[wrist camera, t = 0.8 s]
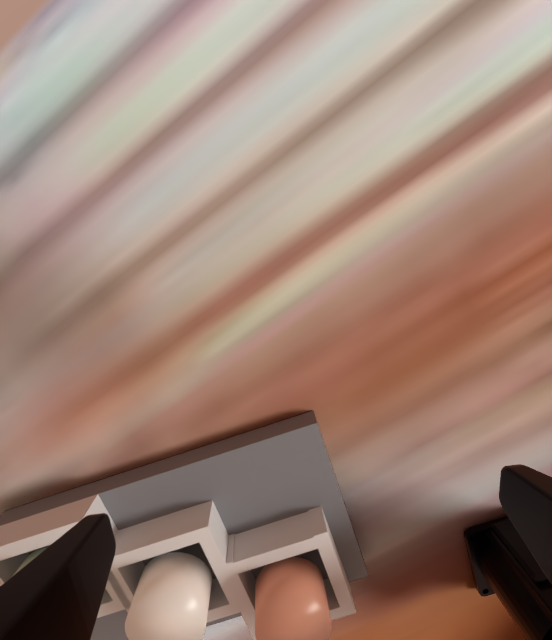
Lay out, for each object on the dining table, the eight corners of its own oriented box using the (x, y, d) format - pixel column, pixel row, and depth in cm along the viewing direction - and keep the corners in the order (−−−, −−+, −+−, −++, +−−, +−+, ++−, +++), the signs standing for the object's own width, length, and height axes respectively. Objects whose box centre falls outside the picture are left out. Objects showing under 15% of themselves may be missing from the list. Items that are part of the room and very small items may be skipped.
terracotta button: (331, 598, 22) (340, 645, 19) (268, 617, 22) (269, 666, 20) (312, 548, 21) (319, 591, 18) (245, 569, 21) (244, 614, 18)
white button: (222, 594, 21) (217, 642, 19) (157, 614, 21) (144, 665, 19) (196, 543, 20) (188, 586, 18) (129, 565, 20) (110, 611, 18)
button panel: (362, 556, 25) (378, 606, 22) (91, 641, 26) (65, 702, 22) (313, 410, 22) (323, 442, 19) (4, 511, 23) (-40, 559, 19)
